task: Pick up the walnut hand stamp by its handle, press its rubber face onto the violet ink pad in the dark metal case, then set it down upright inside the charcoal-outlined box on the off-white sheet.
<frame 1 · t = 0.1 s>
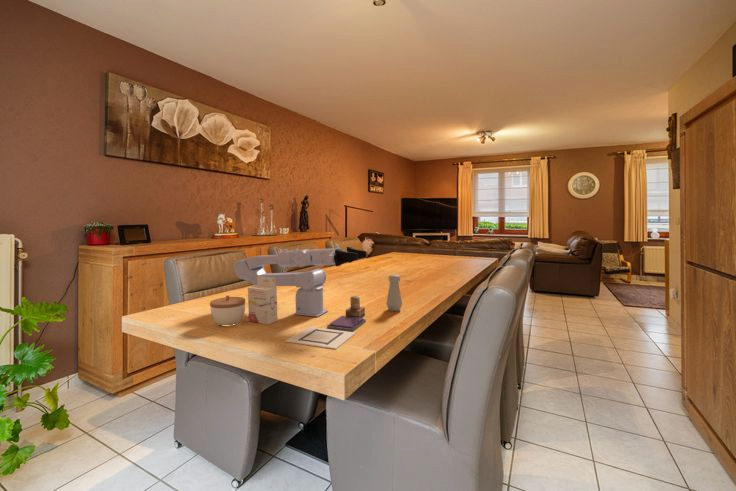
hand: (361, 255, 117), 22 cm above the table, tool horizontal, fingers open, 7 cm apart
ink pad: (346, 324, 113), on the table
marked sheet: (321, 337, 101), on the table
ink cartridge box: (263, 322, 117), on the table
stamp: (355, 317, 121), on the table
salt shaker: (394, 310, 130), on the table
lidded jar: (229, 324, 115), on the table
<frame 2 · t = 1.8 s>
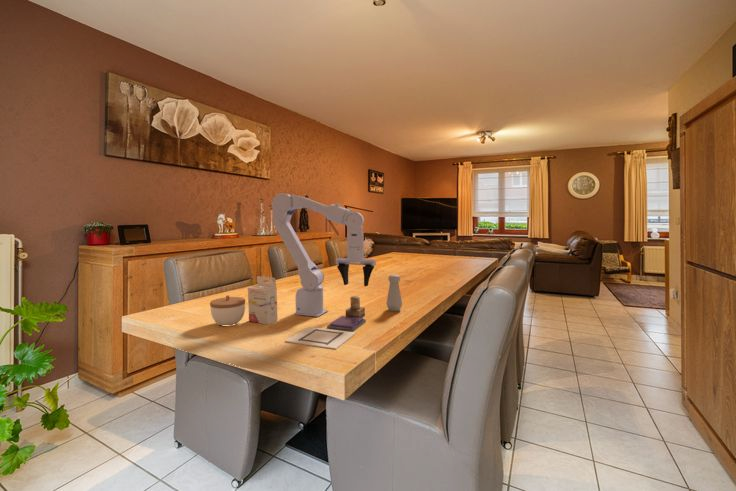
hand: (356, 285, 124), 10 cm above the table, tool pointing down, fingers open, 7 cm apart
nothing on the table moved.
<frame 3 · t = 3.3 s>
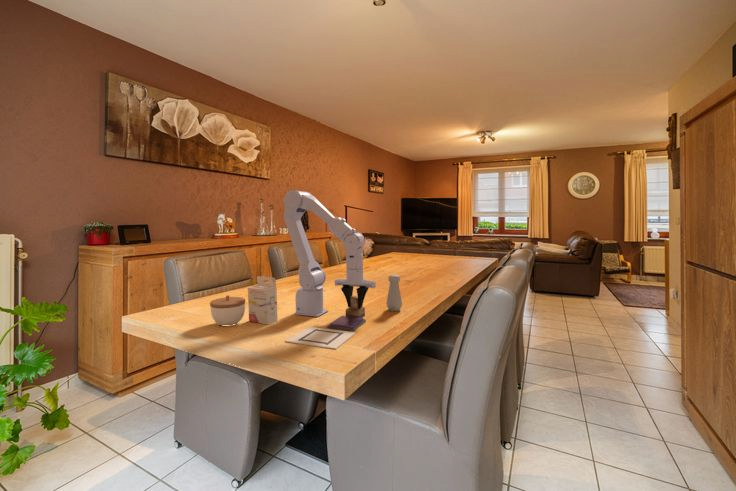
hand: (355, 307, 121), 3 cm above the table, tool pointing down, fingers closed on stamp, 3 cm apart
stamp: (355, 316, 121), on the table, touching gripper
everything else where it was.
when the fingers open (5 cm above the table, at t = 9.9 s): stamp drops 1 cm, resting on marked sheet.
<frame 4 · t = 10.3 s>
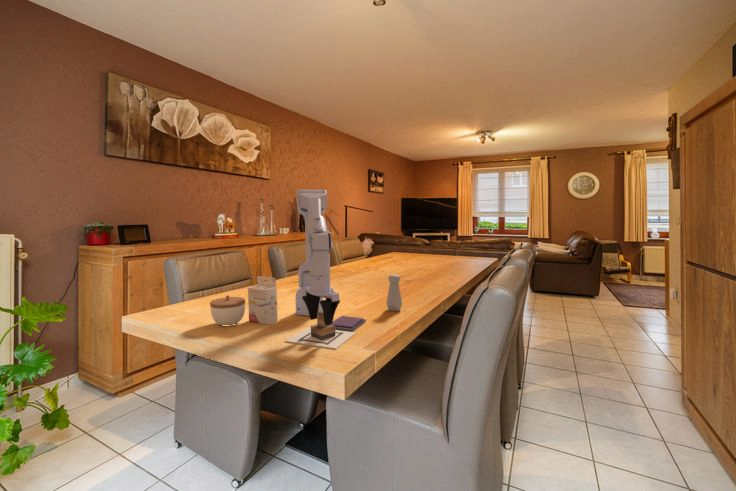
hand: (321, 321, 101), 5 cm above the table, tool pointing down, fingers open, 6 cm apart
stamp: (323, 336, 102), resting on marked sheet
everything else where it was.
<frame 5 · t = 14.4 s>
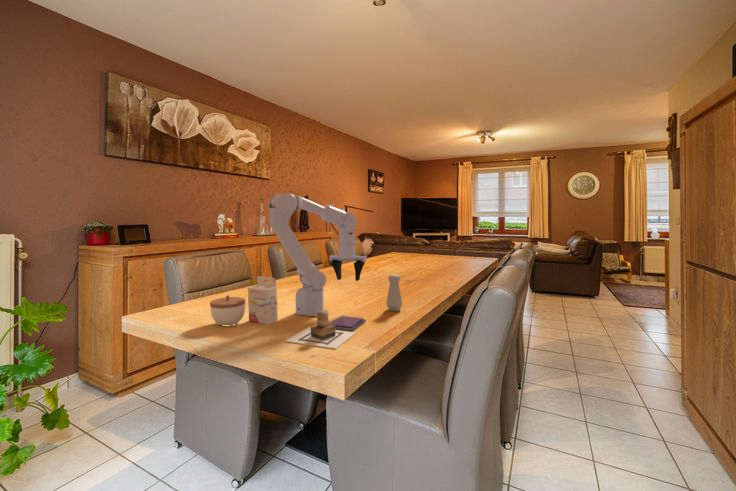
hand: (348, 279, 134), 10 cm above the table, tool pointing down, fingers open, 7 cm apart
nothing on the table moved.
at the end: stamp 0.6 cm off-centre on the marked sheet, point 0.3 cm above the marked sheet's base; stamp tilted 0°; the gripper is holding nothing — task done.
